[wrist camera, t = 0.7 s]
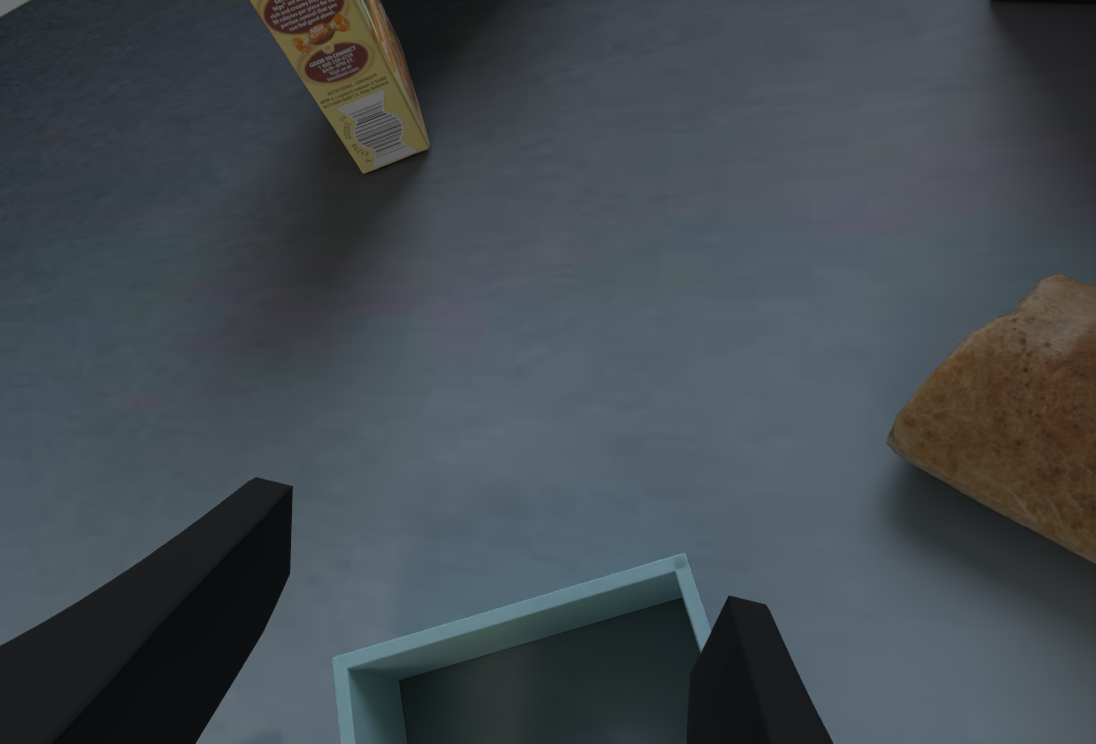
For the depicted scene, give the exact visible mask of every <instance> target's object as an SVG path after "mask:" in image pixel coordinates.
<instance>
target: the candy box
mask: <svg viewBox="0 0 1096 744" xmlns="http://www.w3.org/2000/svg"><path fill="white" fill-rule="evenodd" d="M250 2H251V3H252V5H253V6H254V8H255V9H256V11H257V12H258V14H259V16H260V17H261V19H262V20H263V22H264V23H265V25H266V26H267V28H268V29H269V31H270V32H271V34H272V35H273V37H274V38H275V40H276V41H277V43H278V44H279V46H280V47H281V49H282V50H283V52H284V53H285V55H286V56H287V58H288V59H289V61H290V62H291V64H292V65H293V67H294V69H295V70H296V72H297V73H298V75H299V76H300V78H301V79H302V81H303V83H304V84H305V86H306V87H307V89H308V90H309V92H310V93H311V94H312V96H313V97H314V99H315V101H316V102H317V104H318V105H319V107H320V108H321V110H322V111H323V113H324V114H325V116H326V117H327V119H328V120H329V122H330V124H331V125H332V127H333V128H334V130H335V131H336V133H337V134H338V136H339V137H340V139H341V140H342V142H343V144H344V145H345V147H346V148H347V150H348V151H349V153H350V154H351V156H352V157H353V159H354V160H355V162H356V164H357V165H358V167H359V168H360V170H361V172H362V173H363V174H365V173H367V172H370V171H373V170H376V169H378V168H380V167H383V166H386V165H388V164H391V163H393V162H396V161H398V160H401V159H403V158H406V157H408V156H411V155H413V154H416V153H419V152H422V151H425V150H427V149H429V148H430V144H429V140H428V136H427V132H426V128H425V124H424V120H423V117H422V113H421V110H420V106H419V103H418V99H417V96H416V93H415V90H414V86H413V83H412V79H411V76H410V73H409V69H408V66H407V63H406V59H405V56H404V53H403V49H402V46H401V43H400V41H399V39H398V37H397V35H396V33H395V31H394V29H393V27H392V25H391V22H390V20H389V18H388V16H387V15H386V12H385V10H384V8H383V6H382V4H381V2H380V0H250Z"/></svg>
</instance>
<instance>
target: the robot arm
mask: <svg viewBox="0 0 1096 744" xmlns="http://www.w3.org/2000/svg"><path fill="white" fill-rule="evenodd" d="M292 491H293V486H289V485H285V484H281V483H277V482H273V481H269V480H265V479H261V478H257V477H256V478H254V479H252V480H250V481H248V482H247V483H246V484H245V485H243V486H242V487H241V488H239V489H238V490H237V491H235V492H234V493H233V494H232V495H230V496H229V497H228V498H226V499H225V500H224V501H222V502H221V503H220V504H219V505H217V506H216V507H215V508H213V509H212V510H211V511H209V512H208V513H207V514H205V515H204V516H203V517H201V518H200V519H199V520H197V521H196V522H195V523H193V524H192V525H191V526H189V527H188V528H187V529H185V530H184V531H183V532H181V533H180V534H178V535H177V536H176V537H174V538H173V539H171V540H170V541H168V542H167V543H166V544H164V545H163V546H161V547H160V548H159V549H157V550H156V551H154V552H153V553H151V554H150V555H149V556H147V557H146V558H144V559H143V560H142V561H140V562H139V563H137V564H136V565H134V566H133V567H131V568H130V569H128V570H127V571H125V572H124V573H122V574H120V575H119V576H117V577H116V578H114V579H113V580H111V581H110V582H108V583H106V584H105V585H103V586H102V587H100V588H99V589H97V590H96V591H94V592H92V593H91V594H89V595H88V596H86V597H85V598H83V599H82V600H80V601H78V602H77V603H75V604H73V605H72V606H70V607H68V608H67V609H65V610H63V611H62V612H60V613H58V614H57V615H55V616H53V617H51V618H50V619H48V620H46V621H45V622H43V623H41V624H39V625H38V626H36V627H34V628H32V629H30V630H28V631H27V632H25V633H23V634H21V635H19V636H18V637H16V638H14V639H12V640H10V641H9V642H7V643H5V644H3V645H1V646H0V744H196V742H197V740H198V739H199V737H200V735H201V734H202V732H203V730H204V729H205V727H206V726H207V724H208V722H209V721H210V719H211V717H212V716H213V714H214V712H215V711H216V709H217V708H218V706H219V704H220V703H221V701H222V699H223V698H224V696H225V694H226V693H227V691H228V690H229V688H230V686H231V685H232V683H233V681H234V680H235V678H236V676H237V675H238V673H239V671H240V670H241V668H242V666H243V665H244V663H245V662H246V660H247V658H248V657H249V655H250V653H251V652H252V650H253V648H254V647H255V645H256V643H257V642H258V640H259V638H260V636H261V635H262V633H263V631H264V629H265V627H266V625H267V623H268V621H269V619H270V617H271V614H272V612H273V610H274V608H275V606H276V604H277V602H278V599H279V597H280V595H281V593H282V590H283V588H284V586H285V584H286V581H287V579H288V577H289V575H290V557H291V524H292ZM687 744H833V742H832V740H831V738H830V736H829V734H828V732H827V730H826V728H825V726H824V724H823V722H822V720H821V718H820V717H819V715H818V713H817V711H816V709H815V707H814V705H813V703H812V701H811V699H810V697H809V695H808V693H807V691H806V688H805V686H804V684H803V682H802V680H801V678H800V676H799V674H798V672H797V669H796V667H795V665H794V663H793V661H792V659H791V657H790V654H789V652H788V650H787V648H786V646H785V643H784V641H783V639H782V637H781V635H780V632H779V630H778V628H777V626H776V624H775V621H774V619H773V617H772V615H771V612H770V610H769V609H768V607H767V605H765V604H761V603H757V602H753V601H749V600H745V599H741V598H737V597H733V596H728V598H727V600H726V602H725V604H724V606H723V609H722V611H721V613H720V615H719V617H718V619H717V621H716V623H715V625H714V627H713V629H712V631H711V633H710V635H709V637H708V639H707V641H706V643H705V645H704V647H703V650H702V652H701V654H700V656H699V658H698V660H697V662H696V664H695V666H694V668H693V670H692V672H691V674H690V689H689V703H688V722H687Z"/></svg>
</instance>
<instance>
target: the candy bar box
mask: <svg viewBox="0 0 1096 744" xmlns="http://www.w3.org/2000/svg"><path fill="white" fill-rule="evenodd" d="M1053 1H1086V2H1096V0H1053Z"/></svg>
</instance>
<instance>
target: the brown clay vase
mask: <svg viewBox="0 0 1096 744" xmlns="http://www.w3.org/2000/svg"><path fill="white" fill-rule="evenodd" d="M886 444H887V445H888V446H889V447H890V448H891V449H892V450H893V451H894V452H895V453H896V454H897V455H899V456H900V457H902V458H904V459H905V460H907V461H908V462H910V463H912V464H913V465H915V466H916V467H918V468H920V469H922V470H924V471H925V472H927V473H929V474H931V475H933V476H934V477H936V478H938V479H940V480H942V481H944V482H945V483H947V484H949V485H951V486H952V487H954V488H955V489H957V490H958V491H960V492H961V493H963V494H964V495H966V496H968V497H970V498H972V499H974V500H976V501H977V502H979V503H981V504H983V505H985V506H987V507H989V508H991V509H992V510H994V511H996V512H998V513H1000V514H1002V515H1004V516H1005V517H1007V518H1009V519H1011V520H1013V521H1015V522H1017V523H1019V524H1021V525H1023V526H1025V527H1027V528H1029V529H1030V530H1032V531H1034V532H1036V533H1038V534H1040V535H1042V536H1044V537H1046V538H1048V539H1050V540H1052V541H1054V542H1055V543H1057V544H1059V545H1061V546H1062V547H1064V548H1066V549H1068V550H1069V551H1071V552H1073V553H1075V554H1077V555H1079V556H1081V557H1083V558H1085V559H1087V560H1088V561H1090V562H1092V563H1094V564H1096V287H1094V286H1091V285H1088V284H1085V283H1082V282H1080V281H1077V280H1074V279H1071V278H1068V277H1066V276H1063V275H1061V274H1057V275H1051V276H1049V277H1047V278H1045V279H1043V280H1041V281H1039V282H1038V283H1037V285H1036V286H1035V287H1034V289H1033V290H1032V291H1031V292H1030V293H1029V294H1028V295H1027V296H1026V297H1025V298H1023V299H1022V301H1021V302H1020V304H1019V305H1018V306H1017V308H1016V309H1015V310H1014V311H1013V312H1012V313H1011V314H1008V315H1004V316H1000V317H997V318H995V319H994V320H992V321H991V322H989V323H988V324H987V325H985V326H984V327H983V328H981V329H978V330H975V331H973V332H971V333H970V334H969V335H968V336H967V337H966V338H964V339H963V340H962V341H961V342H960V343H959V345H958V346H957V347H956V348H955V349H954V350H953V351H952V352H951V353H950V354H949V356H948V357H947V358H946V359H945V360H944V361H943V362H942V363H941V364H940V365H939V366H938V367H937V368H936V369H935V370H934V371H933V372H931V373H930V375H929V376H928V377H927V378H926V380H925V381H924V382H923V383H922V385H921V386H920V387H919V388H918V390H917V391H916V392H915V393H914V395H913V396H912V397H911V398H910V400H909V401H908V402H907V403H906V405H905V406H904V407H903V408H902V410H901V411H900V412H899V413H898V414H897V416H896V419H895V422H894V424H893V427H892V430H891V431H890V433H889V435H888V439H887V442H886Z"/></svg>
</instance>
